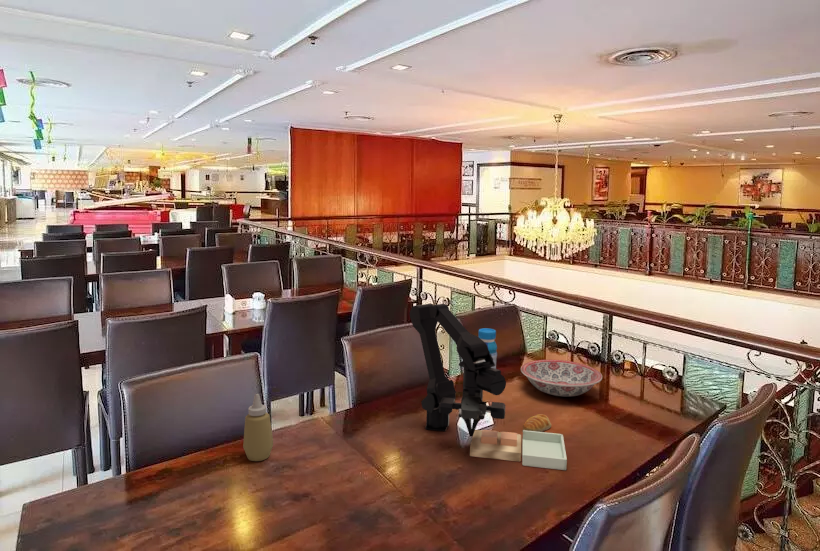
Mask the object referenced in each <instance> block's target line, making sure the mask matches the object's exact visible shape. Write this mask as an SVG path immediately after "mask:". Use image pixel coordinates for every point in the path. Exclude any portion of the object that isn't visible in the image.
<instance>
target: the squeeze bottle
mask: <svg viewBox="0 0 820 551" xmlns="http://www.w3.org/2000/svg"><path fill="white" fill-rule="evenodd" d="M243 432H244V433H243V445H242V448H243V450H244V452H245V455H246V457H247V459H248V461H252V462H261V461H264V460H266V459H268V458H269V457H270V454H271V452H272V450H273V446H274V440H273V438H274V437H273V432H272V424H271V417H270V414H269V413H268V412H267V406H266V405H265V404H262V401H261V396H260V394H259V393H254V397H253V402H252V405H249V407H248V414H247V415H246V416H245V417H244V430H243Z"/></svg>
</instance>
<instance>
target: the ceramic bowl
mask: <svg viewBox="0 0 820 551" xmlns="http://www.w3.org/2000/svg"><path fill="white" fill-rule="evenodd" d="M520 372H521V373H522V374H523V376H526V378H527V379H528V381H529V382H530V383H531V385H532V386H533V387H534V388H536V389H537V390H538V391H540V392H543V393H545V394H548V395H552V396H555V397H576V396H580V395H583V394H584V393H586V392H589V391H590V390H591V389H592V388H593V387H594V386H595V385H596V384H599V383H600V382H601V381H602V380H603V375H602V373H601V372H600V371H599V370H597V369H596V368H594V367H592V366H589V365H586V364H584V363H580V362H576V361H570V360H563V359H537V360H532V361H529V362H525V363H524V364H522V366H521V367H520Z"/></svg>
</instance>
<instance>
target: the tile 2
mask: <svg viewBox="0 0 820 551" xmlns="http://www.w3.org/2000/svg"><path fill="white" fill-rule="evenodd" d="M500 432H501V444H500V445H507V446H516V447H517V434H518V433H517V432H510V431H509V432H508V431H500Z"/></svg>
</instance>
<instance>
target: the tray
mask: <svg viewBox="0 0 820 551" xmlns="http://www.w3.org/2000/svg"><path fill="white" fill-rule="evenodd" d="M564 440H565V438H564V434H563V433H555V432H554V433H553V432H546V431H545V432H544V431H542V432H536V431H526V430H523V429H522V452H521V457H522V458H521V460H522V462H521V464H522V466H525V467H534V468H540V469H541V468H542V469H549V470H550V469H552V470H559V471H560V470H562V471H567V463H568V459H567V453H566V446H565V441H564Z"/></svg>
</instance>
